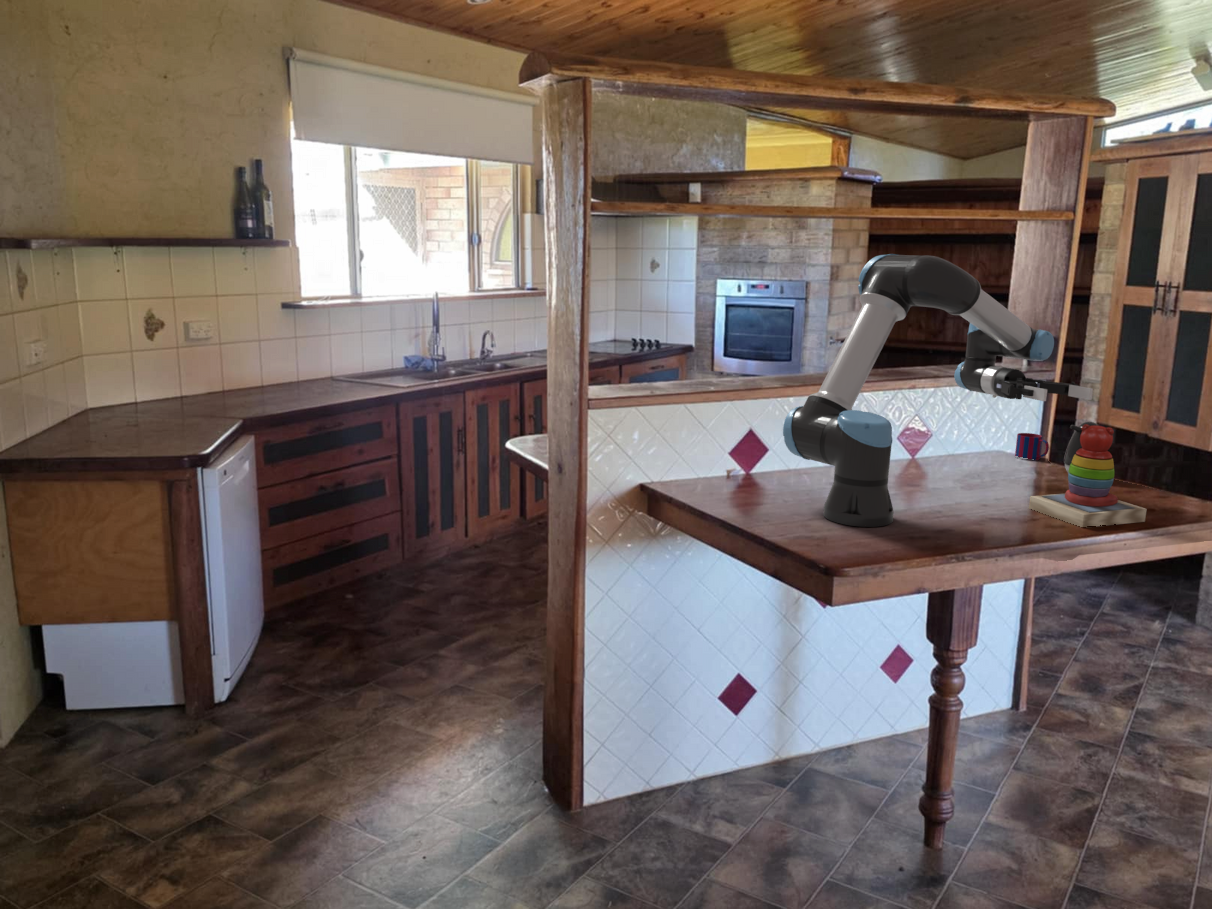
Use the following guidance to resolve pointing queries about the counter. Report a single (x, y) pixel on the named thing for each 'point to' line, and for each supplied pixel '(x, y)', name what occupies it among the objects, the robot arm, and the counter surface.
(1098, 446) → the stacking bear
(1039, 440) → the mug
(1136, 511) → the plinth
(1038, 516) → the counter surface
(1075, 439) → the pump dispenser
